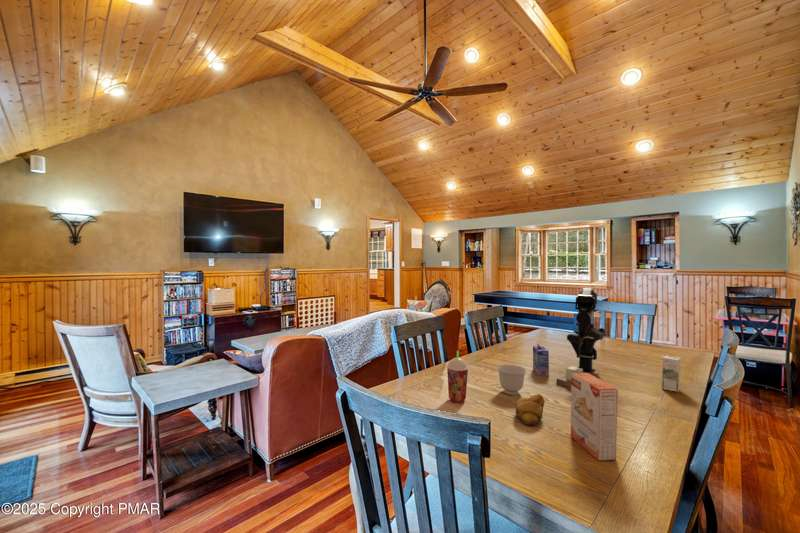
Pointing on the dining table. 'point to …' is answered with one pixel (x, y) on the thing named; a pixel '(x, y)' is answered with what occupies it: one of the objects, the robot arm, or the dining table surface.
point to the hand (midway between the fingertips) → (583, 354)
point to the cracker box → (594, 415)
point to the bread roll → (530, 409)
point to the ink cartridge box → (541, 360)
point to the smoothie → (457, 379)
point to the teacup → (511, 378)
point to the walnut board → (564, 382)
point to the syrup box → (671, 373)
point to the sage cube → (572, 370)
